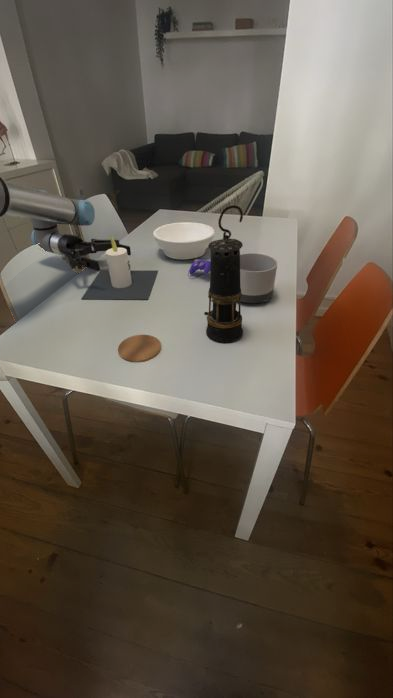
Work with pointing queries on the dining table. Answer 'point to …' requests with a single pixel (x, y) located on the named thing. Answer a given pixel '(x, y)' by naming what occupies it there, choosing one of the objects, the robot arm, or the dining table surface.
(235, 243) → the lantern
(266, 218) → the dining table surface
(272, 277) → the planter
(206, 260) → the game controller
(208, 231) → the bowl
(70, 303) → the dining table surface
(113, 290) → the placemat
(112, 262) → the candle
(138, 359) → the coaster
